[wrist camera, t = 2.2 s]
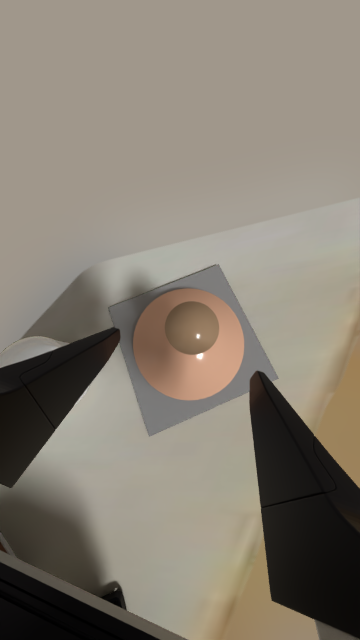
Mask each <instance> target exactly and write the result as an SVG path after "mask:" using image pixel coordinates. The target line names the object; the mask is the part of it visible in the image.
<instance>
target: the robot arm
mask: <svg viewBox="0 0 360 640" xmlns="http://www.w3.org/2000/svg"><path fill="white" fill-rule="evenodd" d="M120 338H121V337H120V329H119V328H115V327H113V328H110V329H107V330H105V331H102V332H99V333H97V334H94V335H91V336H89V337H86V338H83V339H81V340H78V341H75V342H73V343H70V344H68V345H65V346H62V347H60V348H57V349H54V350H52V351H49V352H46V353H44V354H41V355H38V356H35V357H32V358H29V359H26V360H23V361H20V362H17V363H14V364H11V365H8V366H4V367H1V368H0V484H2V485H5V486H7V487H10V488H12V486H13V485H14V484H15V483H16V482H17V480H18V479H19V478H20V476H21V475H22V474H23V472H24V471H25V470H26V468H27V467H28V466H29V464H30V463H31V462H32V460H33V459H34V458H35V457H36V455H37V454H38V453H39V451H40V450H41V449H42V447H43V446H44V445H45V443H46V442H47V441H48V439H49V438H50V437H51V435H52V434H53V433H54V431H55V429H57V427H58V426H59V425H60V423H61V422H62V421H63V419H64V418H65V417H66V415H67V414H68V413H69V411H70V410H71V409H72V408H73V406H74V405H75V404H76V402H77V401H78V400H79V398H80V397H81V396H82V394H83V393H84V392H85V390H86V389H87V388H88V386H89V385H90V384H91V382H92V381H93V380H94V378H95V377H96V376H97V375H98V373H99V372H100V371H101V369H102V368H103V367H104V365H105V364H106V363H107V361H108V360H109V358H110V357H111V355H112V353H113V352H114V350H115V348H116V347H117V345H118V343H119V342H120ZM250 415H251V424H252V433H253V441H254V450H255V459H256V468H257V477H258V486H259V495H260V504H261V514H262V523H263V532H264V541H265V550H266V559H267V567H268V575H269V585H270V593H271V599H272V601H274V602H276V603H279V604H281V605H283V606H285V607H287V608H290V609H292V610H294V611H296V612H299V613H301V614H303V615H306V616H308V617H310V618H312V619H314V620H315V624H316V628H317V632H318V637H319V640H360V488H359V487H358V486H357V485H356V484H355V483H354V482H353V480H352V479H351V478H350V477H349V476H348V475H347V474H346V472H345V471H344V470H343V469H342V468H341V467H340V466H339V464H338V463H337V462H336V461H335V460H334V459H333V457H332V456H331V455H330V454H329V453H328V451H327V450H326V449H325V448H324V447H323V445H322V444H321V443H320V442H319V440H318V439H317V438H316V437H315V436H314V434H313V433H312V432H311V430H310V429H309V428H308V427H307V425H306V424H305V423H304V422H303V420H302V419H301V418H300V417H299V415H298V414H297V413H296V412H295V410H294V409H293V408H292V407H291V405H290V404H289V403H288V402H287V400H286V399H285V398H284V397H283V395H282V394H281V393H280V392H279V390H278V389H277V388H276V387H275V386H274V384H273V383H272V382H271V381H270V379H269V378H268V377H267V376H266V374H265V373H264V372H261V371H255V373H254V374H253V375H252V377H251V378H250ZM0 640H187V639H185V638H183V637H181V636H179V635H177V634H175V633H173V632H171V631H168V630H166V629H164V628H162V627H160V626H158V625H156V624H154V623H152V622H150V621H147V620H145V619H143V618H141V617H139V616H137V615H135V614H133V613H131V612H129V611H126V608H125V604H124V600H123V595H122V593H121V592H120V591H119V590H117V591H114V592H112V593H110V594H108V595H106V596H104V597H102V598H99V597H97V596H95V595H93V594H91V593H89V592H87V591H85V590H82V589H80V588H78V587H76V586H74V585H72V584H70V583H68V582H66V581H64V580H62V579H59V578H57V577H55V576H53V575H51V574H49V573H47V572H45V571H43V570H41V569H38V568H36V567H34V566H32V565H30V564H28V563H26V562H24V561H22V560H20V559H17V558H15V557H13V556H11V555H9V554H7V553H5V552H3V551H1V550H0Z"/></svg>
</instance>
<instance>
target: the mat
mask: <svg viewBox="0 0 360 640" xmlns="http://www.w3.org/2000/svg"><path fill="white" fill-rule="evenodd" d="M186 288H190V289H199V290H203V291H206V292H209V293H211V294H213V295H215V296H217V297H219V298H220V299H221V300H223V301H224V302H225V303H226V304H227V305H228V306H229V307H230V308H231V309H232V311H233V312H234V313H235V315H236V316H237V318H238V320H239V322H240V325H241V328H242V331H243V336H244V355H243V359H242V363H241V365H240V368H239V370H238V372H237V373H236V375H235V377H234V378H233V379H232V381H231V382H230V383H229V384H228V385H227V386H226V387H225V388H223V389H222V390H221V391H219V392H218V393H216V394H214V395H212V396H210V397H207V398H204V399H199V400H179V399H175V398H172V397H169V396H166V395H164V394H163V393H161V392H159V391H158V390H156V389H155V388H154V387H152V386H151V385H150V384H149V383H148V382H147V380H146V379H145V378H144V377H143V375H142V374H141V372H140V370H139V368H138V366H137V363H136V360H135V356H134V350H133V337H134V331H135V328H136V325H137V322H138V320H139V318H140V316H141V314H142V313H143V311H144V310H145V309H146V307H147V306H148V305H149V304H150V303H151V302H153V301H154V300H155V299H156V298H158V297H160V296H161V295H163V294H165V293H167V292H170V291H173V290H178V289H186ZM108 309H109V312H110V315H111V318H112V321H113V324H114V327H115V328H119V329H120V337H121V338H120V342H119V343H120V346H121V349H122V353H123V356H124V359H125V362H126V365H127V368H128V372H129V375H130V378H131V381H132V384H133V387H134V390H135V394H136V397H137V400H138V403H139V406H140V409H141V413H142V416H143V419H144V422H145V425H146V428H147V431H148V435H149V436H152V435H154V434H156V433H158V432H161V431H163V430H165V429H167V428H169V427H172V426H174V425H176V424H178V423H181V422H183V421H185V420H187V419H189V418H192V417H194V416H196V415H198V414H201V413H203V412H205V411H207V410H210V409H212V408H214V407H216V406H218V405H221V404H223V403H225V402H227V401H230V400H232V399H234V398H236V397H238V396H241V395H243V394H245V393H247V392H250V378H251V377H252V375H253V374H254V373H255V371H261V372H264V373H265V374H266V376H267V377H268V378H269V379H270V381H271V382H272V381H274V380H276V379H279V378H278V376H277V374H276V372H275V370H274V368H273V367H272V365H271V363H270V361H269V359H268V357H267V355H266V353H265V351H264V349H263V348H262V346H261V344H260V342H259V340H258V338H257V336H256V334H255V332H254V331H253V329H252V327H251V325H250V323H249V321H248V319H247V317H246V315H245V313H244V312H243V310H242V308H241V306H240V304H239V302H238V300H237V298H236V296H235V294H234V293H233V291H232V289H231V287H230V285H229V283H228V281H227V279H226V277H225V275H224V274H223V272H222V270H221V268H220V266H219V264H218V265H216V266H213V267H211V268H208V269H206V270H203V271H200V272H198V273H195V274H193V275H190V276H188V277H185V278H183V279H180V280H177V281H175V282H172V283H170V284H167V285H165V286H162V287H160V288H157V289H154V290H152V291H149V292H147V293H144V294H142V295H139V296H137V297H134V298H131V299H129V300H126V301H124V302H121V303H119V304H116V305H114V306H111V307H108Z"/></svg>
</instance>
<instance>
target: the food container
mask: <svg viewBox="0 0 360 640" xmlns="http://www.w3.org/2000/svg"><path fill="white" fill-rule="evenodd" d="M0 550H1V551H3V552H5V553H7V554H9V555H11V556H13V557H15V558H17V557H16V555H15V554H14V552H13V551H12V549H11V547H10V546H9V544H8V543H7V541H6V540H5V538H4V536H3V535H2V533H1V532H0ZM17 559H18V558H17Z"/></svg>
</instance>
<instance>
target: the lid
mask: <svg viewBox="0 0 360 640" xmlns="http://www.w3.org/2000/svg"><path fill="white" fill-rule="evenodd" d="M133 350H134V356H135V360H136V363H137V366H138V368H139V370H140V372H141V374H142V375H143V377H144V378H145V379H146V380H147V382H148V383H149V384H150V385H151V386H152V387H154V388H155V389H156V390H158V391H159V392H161V393H163V394H164V395H166V396H169V397H172V398H175V399H179V400H199V399H204V398H207V397H210V396H212V395H214V394H216V393H218V392H219V391H221V390H222V389H223V388H225V387H226V386H227V385H228V384H229V383H230V382H231V381H232V379H233V378H234V377H235V375H236V373H237V372H238V370H239V368H240V365H241V363H242V359H243V355H244V336H243V331H242V328H241V325H240V322H239V320H238V318H237V316H236V315H235V313H234V312H233V311H232V309H231V308H230V307H229V306H228V305H227V304H226V303H225V302H224V301H223V300H221V299H220V298H219V297H217V296H215V295H213V294H211V293H209V292H206V291H203V290H199V289H190V288H186V289H178V290H173V291H170V292H167V293H165V294H163V295H161V296H160V297H158V298H156V299H155V300H154V301H153V302H151V303H150V304H149V305H148V306H147V307H146V309H145V310H144V311H143V313H142V314H141V316H140V318H139V320H138V322H137V325H136V328H135V331H134V337H133Z"/></svg>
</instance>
